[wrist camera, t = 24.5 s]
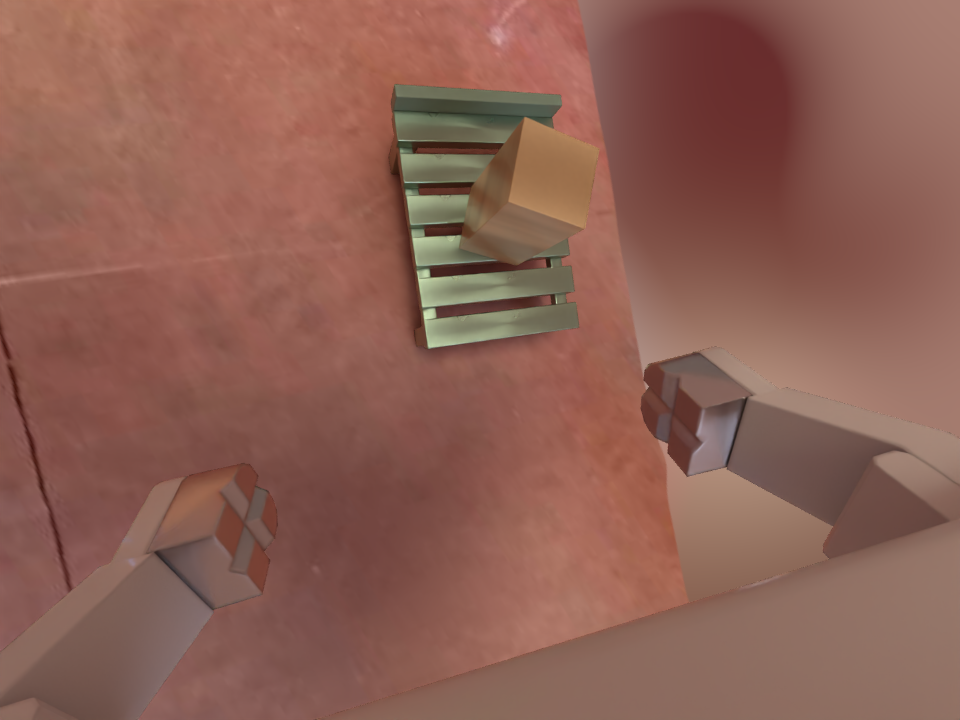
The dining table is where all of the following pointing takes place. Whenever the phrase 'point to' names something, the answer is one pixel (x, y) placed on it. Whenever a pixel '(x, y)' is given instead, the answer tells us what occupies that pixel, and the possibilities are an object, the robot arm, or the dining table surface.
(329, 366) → the dining table surface
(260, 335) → the dining table surface
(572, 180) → the block
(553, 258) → the rack
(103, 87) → the dining table surface
